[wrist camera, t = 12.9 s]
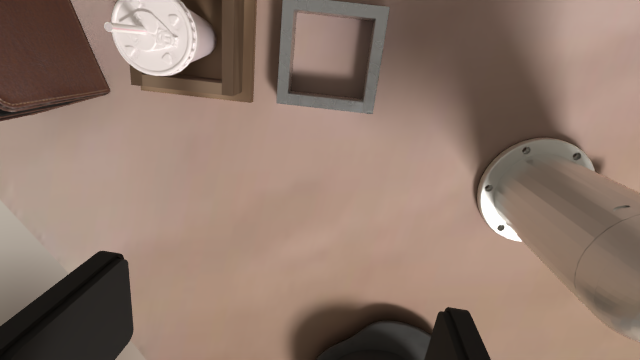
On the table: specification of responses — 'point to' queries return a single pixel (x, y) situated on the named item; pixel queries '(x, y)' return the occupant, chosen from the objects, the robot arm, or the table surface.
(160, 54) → the smoothie
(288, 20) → the holder
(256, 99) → the table surface
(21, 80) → the letter holder
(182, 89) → the socket
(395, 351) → the casserole
